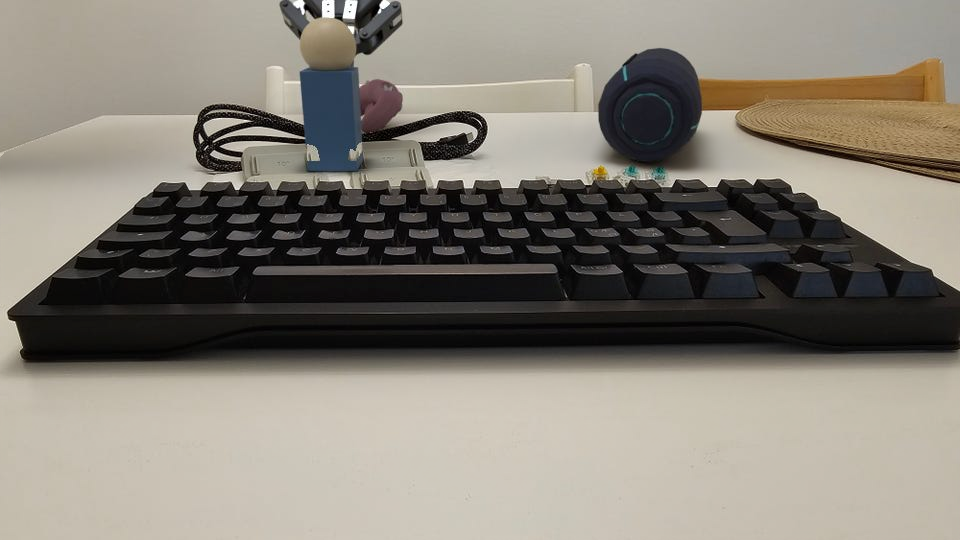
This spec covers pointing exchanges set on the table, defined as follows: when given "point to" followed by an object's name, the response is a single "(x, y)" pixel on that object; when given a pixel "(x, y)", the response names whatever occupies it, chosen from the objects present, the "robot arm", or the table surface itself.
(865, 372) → the table surface
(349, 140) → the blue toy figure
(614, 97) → the portable speaker
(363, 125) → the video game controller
